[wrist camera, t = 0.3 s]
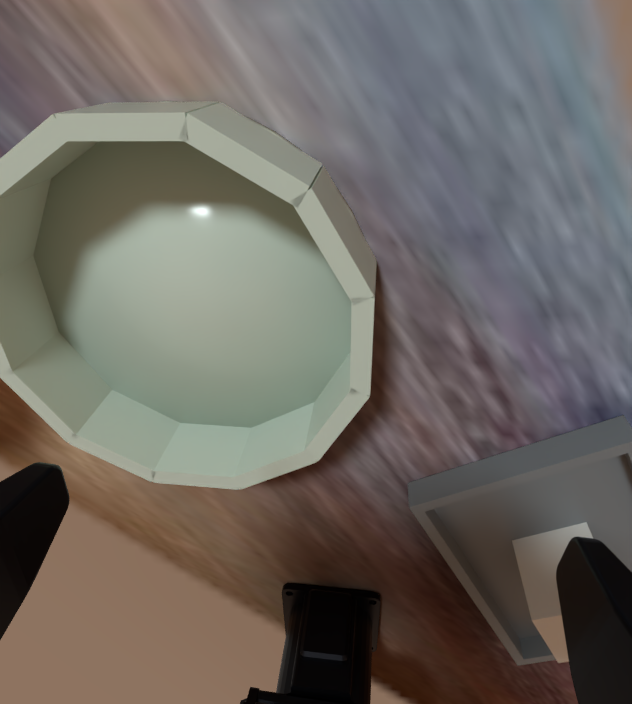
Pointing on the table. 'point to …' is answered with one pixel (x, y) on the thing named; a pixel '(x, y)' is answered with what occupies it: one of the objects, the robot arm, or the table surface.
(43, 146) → the bowl
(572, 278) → the table surface
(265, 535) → the table surface
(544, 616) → the block
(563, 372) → the table surface
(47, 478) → the robot arm
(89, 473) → the table surface
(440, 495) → the parts tray
